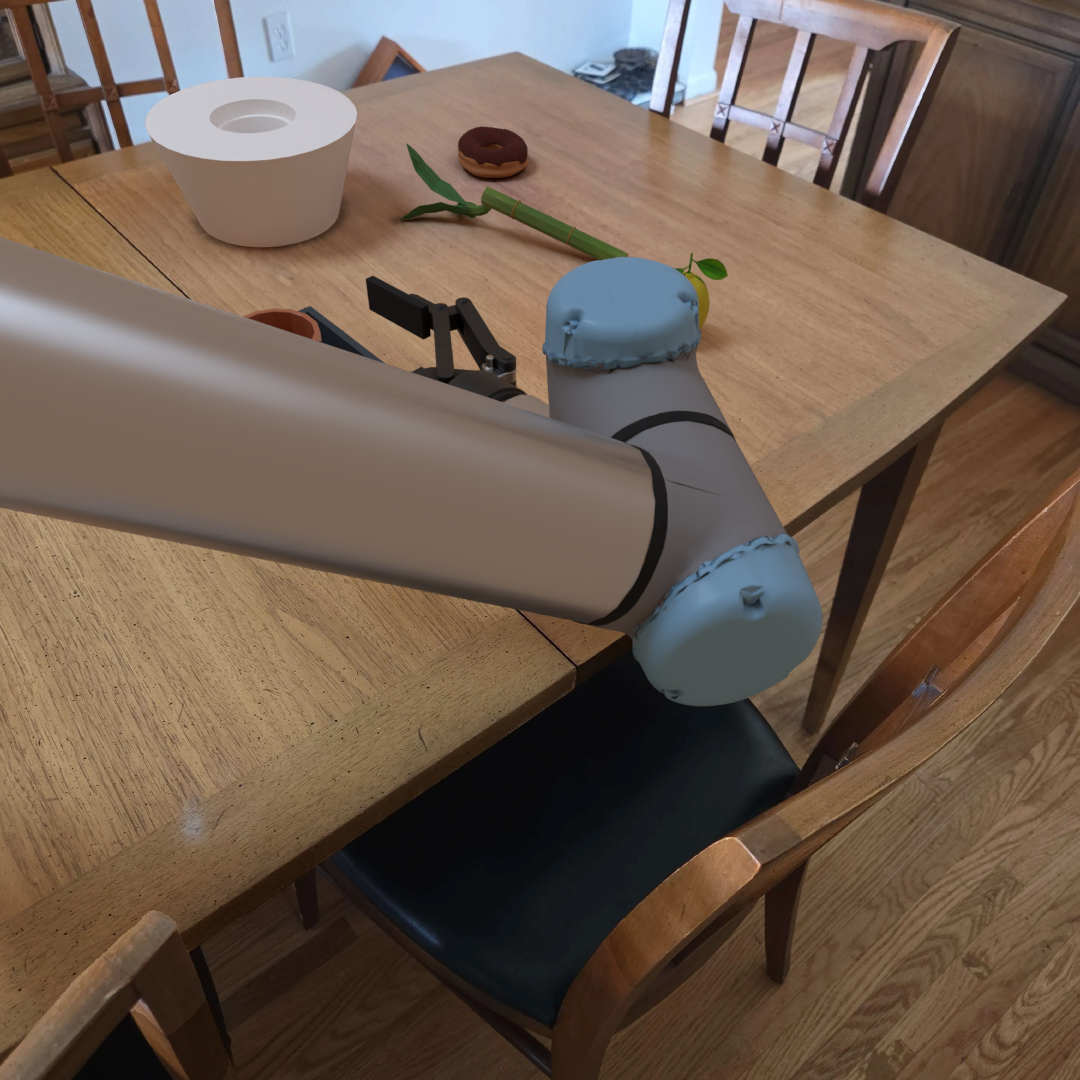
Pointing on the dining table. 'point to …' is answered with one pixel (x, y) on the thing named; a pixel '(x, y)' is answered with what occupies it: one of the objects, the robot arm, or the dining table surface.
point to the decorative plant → (507, 213)
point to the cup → (288, 322)
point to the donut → (492, 152)
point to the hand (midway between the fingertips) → (300, 324)
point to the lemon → (712, 271)
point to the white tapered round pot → (257, 156)
